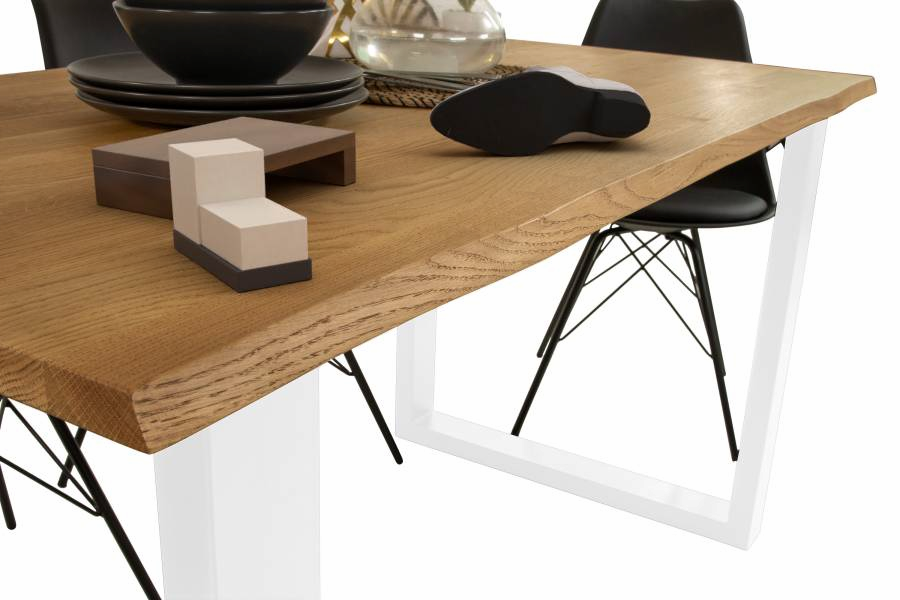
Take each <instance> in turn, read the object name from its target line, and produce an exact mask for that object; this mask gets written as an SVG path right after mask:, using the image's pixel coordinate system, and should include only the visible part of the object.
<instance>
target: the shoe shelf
mask: <svg viewBox="0 0 900 600" xmlns="http://www.w3.org/2000/svg"><path fill="white" fill-rule="evenodd" d="M232 138H236V139H238V140H241V141H243V142H246V143H248V144H251V145H253V146H256V147H258V148H260V149H263V151H264V174H268V175H274V176H280V177H286V178H293V179H299V180H304V179H306V180H305V181H310V180H312V181H311V182H317V181H318V182H317V183H323V182H325V183H324V184H329V183H333V184H332V185H335V184H339V185H338V186H341V185H346V186H348V185H347V184H349V185H351V184H350V183H352V184H354V183H353V182H355V183H357V148H356V146H357V145H356V144H357V141H356V139H357V138H356V131H353V130H345V129H339V128H330V127H323V126H316V125H309V124H301V123H294V122H293V123H292V122H284V121H280V120H279V121H278V120H271V119H264V118H263V119H262V118H256V117H247V116H239V117H235V118H234V117H233V118H229V119H225V120H224V119H223V120H220V121H215V122H210V123H206V124H201V125H196V126H191V127H187V128H181V129H178V130H173V131H172V130H171V131H168V132H163V133H158V134H153V135H148V136H143V137H140V138H139V137H138V138H135V139H129V140H125V141H121V142H120V141H119V142H116V143H110V144H106V145H101V146H97V147H92V148H91V157H92V165H93V166H92V168H93V180H94V191H95V199H96V205H97V206H102V207H109V208H112V209H118V210H124V211H129V212H132V213H133V212H134V213H139V214H142V215H147V216H148V215H149V216H153V217H159V218H164V219H169V220H173V207H172V193H171V179H170V165H169V151H168V145H169V144H180V143H190V142H201V141H211V140H221V139H232ZM326 182H327V183H326Z"/></svg>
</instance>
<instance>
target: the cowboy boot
mask: <svg viewBox="0 0 900 600" xmlns="http://www.w3.org/2000/svg"><path fill="white" fill-rule="evenodd" d="M651 117H652V113H651V111H650V109H649V107H648V105H647V104H646V102H645V100H644V98H643V96H642V95H641V94H640V93H639V92H638V91H637V90H635V89H634V88H633V87H632V86H630V85H628V84H626V83H622V82H619V81H616V80H615V81H614V80H610V79H607V78H606V79H605V78H596V77H588V76H587V75H584V74H583V73H581V72H579V71H577V70H575V69H574V68H572V67H569V66H565V65H564V66H563V65H559V66H557V65H556V66H550V67H545V66H541V65H534V66H531V67H528V68H527V69H525V70H524V71H523V72H520V73H515V74H510V75H507V76H504V77H500V78H497V79H494V80H490V81H485V82H482V83H479V84H476V85H472V86H470V87H468V88H465V89H463V90H461V91H458V92H457V93H453V94H452V95H450V96H448V97H447V98H445V99H444V100H442V101H440V102H439V103H438V104H436V105H435V106H434V107H433V108H432V109H431V111H430V113H429V123H430V125H431V127H432V128H433V129H434V130H435V131H436V132H437V133H439V134H440V135H442V136H443V137H445V138H448V139H449V140H452V141H454V142H457V143H459V144H462V145H464V146H468V147H470V148H474V149H476V150H480V151H483V152H487V153H491V154H495V155H498V156H499V155H500V156H504V157H505V156H506V157H524V156H530V155H534V154H537V153H538V152H541V151H543V150H544V149H546V148H548V147H549V146H551V145H558V144H565V143H573V142H574V143H576V142H588V143H606V142H607V143H608V142H614V141H620V140H625V139H628V138H630V137H632V136H634V135H637V134H639V133H641V132H643V131H645V130H646V129H647V128H648V127H649V125H650V123H651Z"/></svg>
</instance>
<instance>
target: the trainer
mask: <svg viewBox="0 0 900 600" xmlns="http://www.w3.org/2000/svg"><path fill="white" fill-rule="evenodd" d="M168 151H169V165H170V179H171V193H172V207H173V219H172V220H173V229H172V236H173V248H174V249H175V250H177V251H178V252H180V253H181V254H182V255H184V256H185V257H187V258H188V259H190V260H191V261H192V262H194V263H195V264H197V265H198V266H199V267H202V269H204V270H205V271H207V272H209V273H210V274H212V275H213V276H215V278H217V279H219V280H220V281H222V282H223V283H225V284H226V285H228V286H229V287H230V288H232V289H233V290H235V291H236V292H238V293H243V292H249V291H254V290H259V289H260V290H261V289H264V288H271V287H275V286H281V285H287V284H292V283H296V282H301V281H308V280H312V279H313V260H312V258H310V257H309V250H308V249H309V248H308V241H309V240H308V218H307V217H306V216H303V215H302V214H299V213H297V212H295V211H293V210H291V209H289V208H287V207H285V206H283V205H281V204H279V203H277V202H275V201H273V200H272V199H269V198H267V197H266V180H265V179H266V177H265V173H264V151H263V149H260V148H258V147H256V146H253V145H251V144H248V143H246V142H243V141H241V140H238V139H236V138H232V139H221V140H211V141H201V142H190V143H180V144H169V145H168Z"/></svg>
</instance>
